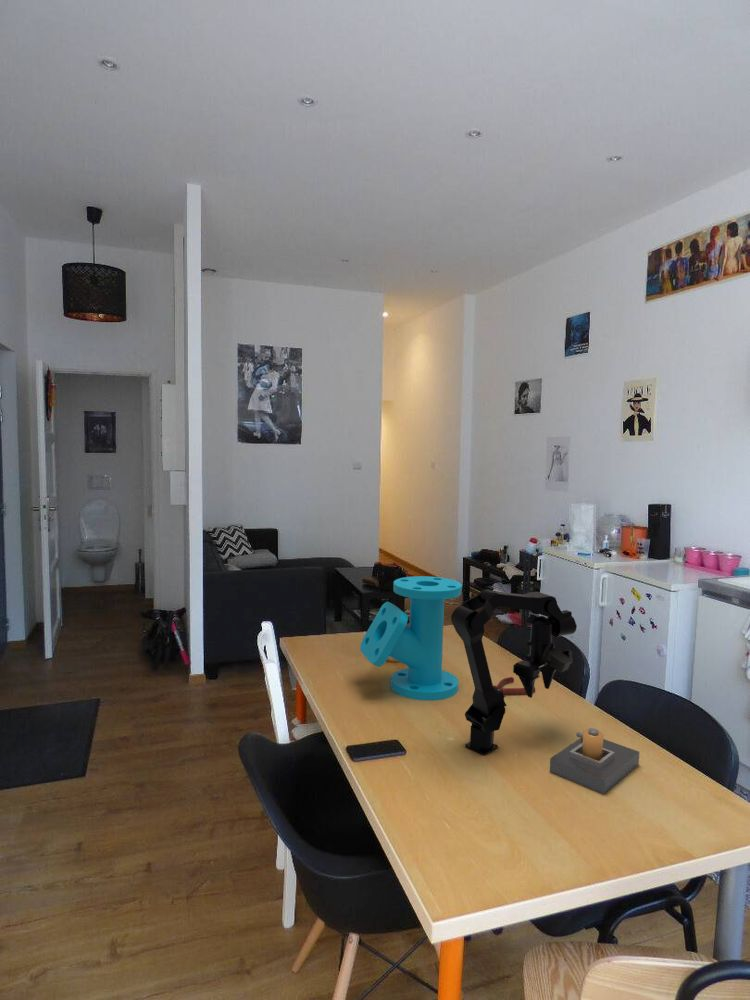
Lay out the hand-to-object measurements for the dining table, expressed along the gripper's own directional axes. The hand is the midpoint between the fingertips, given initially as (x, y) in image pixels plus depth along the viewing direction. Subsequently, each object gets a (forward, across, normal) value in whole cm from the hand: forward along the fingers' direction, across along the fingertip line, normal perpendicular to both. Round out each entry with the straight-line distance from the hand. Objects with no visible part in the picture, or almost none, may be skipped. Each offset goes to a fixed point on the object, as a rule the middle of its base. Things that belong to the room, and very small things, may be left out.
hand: (538, 692), depth 176 cm
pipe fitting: (+12, -1, +46) cm, 48 cm away
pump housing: (+8, -8, -20) cm, 23 cm away
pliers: (+13, +20, +24) cm, 34 cm away
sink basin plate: (+12, -6, -20) cm, 24 cm away
